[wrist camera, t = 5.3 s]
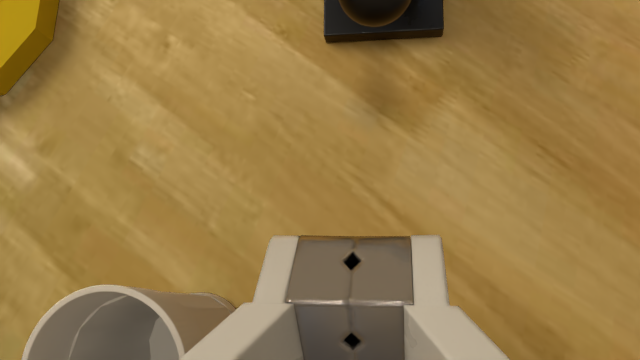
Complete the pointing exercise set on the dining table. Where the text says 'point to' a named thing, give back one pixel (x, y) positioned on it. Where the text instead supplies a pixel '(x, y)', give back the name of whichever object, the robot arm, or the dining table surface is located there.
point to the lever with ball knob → (374, 11)
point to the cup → (125, 324)
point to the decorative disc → (23, 36)
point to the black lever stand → (413, 23)
